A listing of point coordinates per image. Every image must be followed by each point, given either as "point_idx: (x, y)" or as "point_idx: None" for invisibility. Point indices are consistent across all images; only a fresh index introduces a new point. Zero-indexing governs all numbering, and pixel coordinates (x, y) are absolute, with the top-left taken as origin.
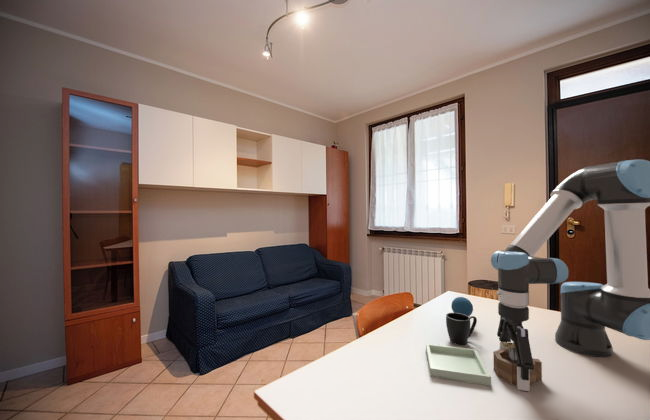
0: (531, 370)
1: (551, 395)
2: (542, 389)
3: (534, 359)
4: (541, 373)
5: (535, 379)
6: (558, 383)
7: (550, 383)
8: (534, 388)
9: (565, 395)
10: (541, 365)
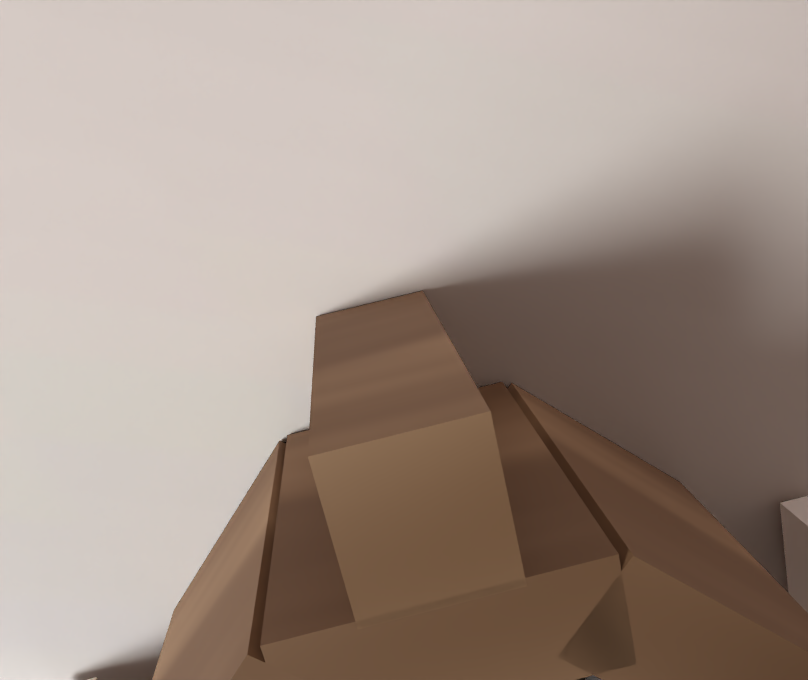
0: (732, 577)
1: (788, 228)
2: (668, 320)
3: (399, 556)
4: (442, 330)
5: (533, 407)
6: (347, 31)
7: (417, 168)
8: (686, 419)
9: (710, 19)
10: (474, 384)
